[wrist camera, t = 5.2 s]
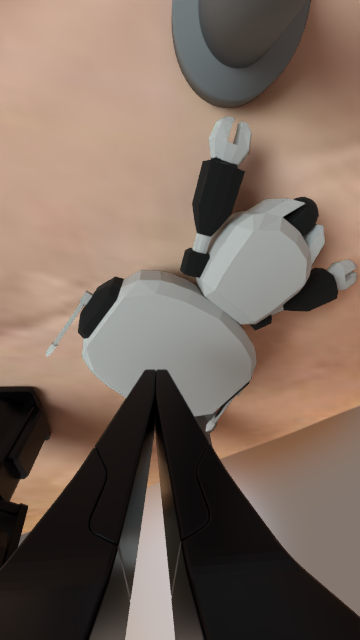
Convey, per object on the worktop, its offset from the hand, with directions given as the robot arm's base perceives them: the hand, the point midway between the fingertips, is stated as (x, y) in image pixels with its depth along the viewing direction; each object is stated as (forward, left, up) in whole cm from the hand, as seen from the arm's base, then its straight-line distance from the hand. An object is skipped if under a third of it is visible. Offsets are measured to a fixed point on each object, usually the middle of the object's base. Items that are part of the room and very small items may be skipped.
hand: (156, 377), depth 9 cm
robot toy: (+3, 0, -8) cm, 8 cm away
